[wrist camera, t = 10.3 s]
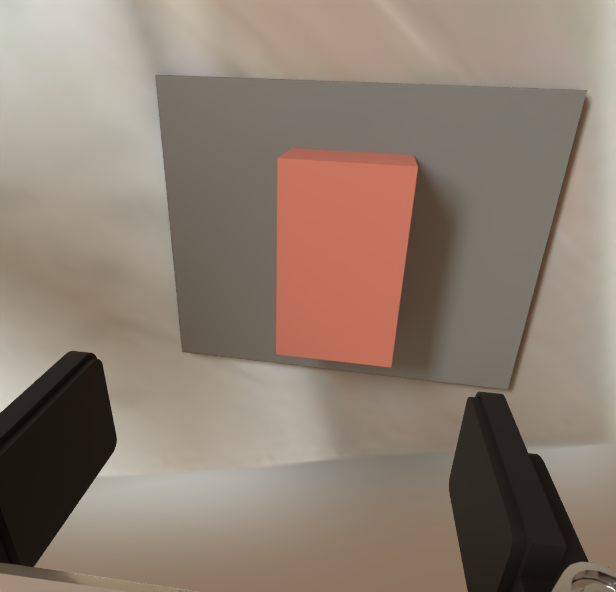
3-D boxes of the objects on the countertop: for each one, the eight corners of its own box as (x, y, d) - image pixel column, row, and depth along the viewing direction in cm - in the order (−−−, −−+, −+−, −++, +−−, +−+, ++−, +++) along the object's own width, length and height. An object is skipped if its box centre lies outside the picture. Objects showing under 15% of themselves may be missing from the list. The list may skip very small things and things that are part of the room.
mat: (185, 347, 30) (182, 351, 29) (160, 74, 23) (155, 74, 23) (505, 383, 27) (507, 389, 27) (581, 90, 21) (587, 90, 20)
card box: (292, 147, 23) (277, 158, 20) (413, 154, 22) (418, 166, 19) (288, 323, 27) (276, 354, 24) (390, 334, 27) (391, 367, 23)
